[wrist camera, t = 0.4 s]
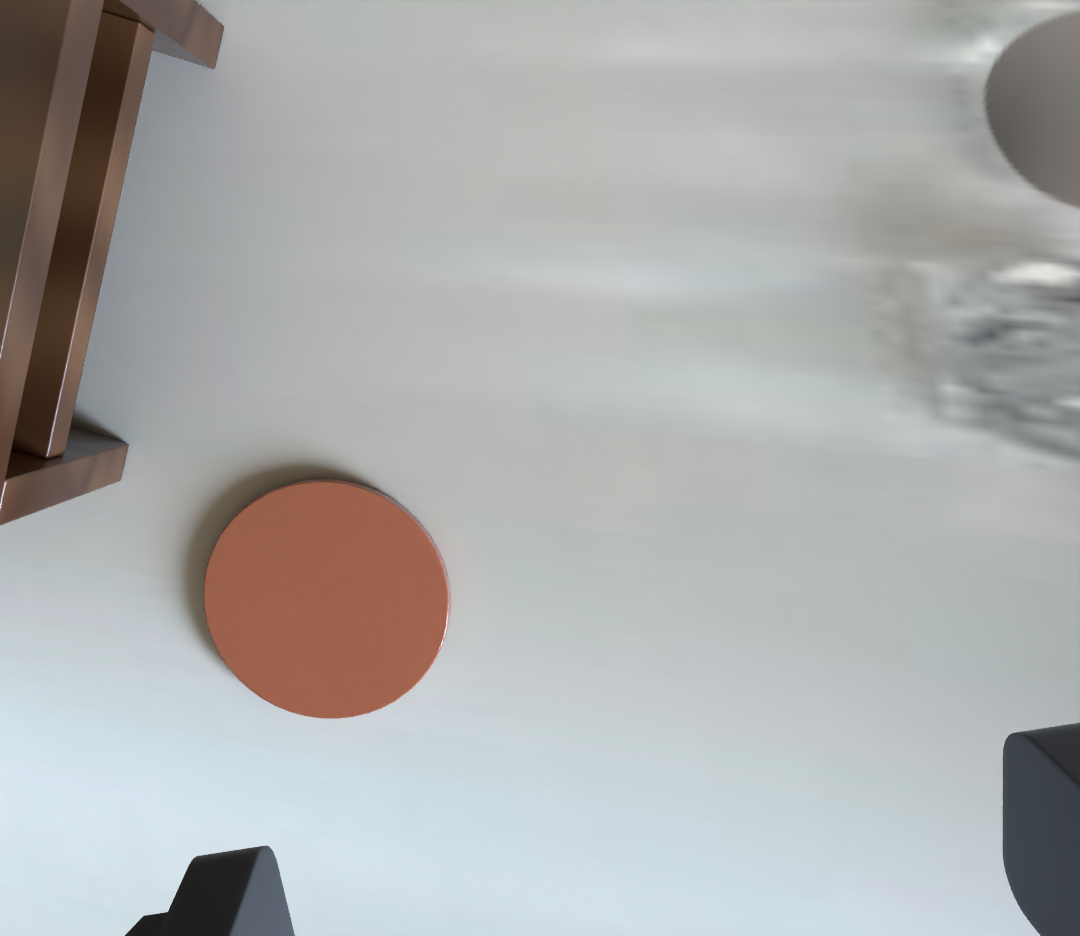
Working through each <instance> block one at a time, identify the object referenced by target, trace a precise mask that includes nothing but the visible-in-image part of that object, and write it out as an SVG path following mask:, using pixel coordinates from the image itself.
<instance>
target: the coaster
mask: <svg viewBox="0 0 1080 936" xmlns="http://www.w3.org/2000/svg"><path fill="white" fill-rule="evenodd" d="M203 593H204V610H205V615H206V620H207V625H208V628H209V631H210V634H211V637H212V640H213V642H214V644H215V646H216V648H217V650H218V652H219V654H220V655H221V657H222V659H223V660H224V662H225V663H226V665H227V666H228V667H229V669H230V670H231V671H232V672H233V673H234V675H235V676H236V677H237V678H238V679H239V680H240V681H241V682H242V683H243V684H244V685H245V686H246V687H247V688H249V689H250V690H251V691H253V692H254V693H255V694H257V695H258V696H259V697H261V698H262V699H264V700H266V701H268V702H270V703H271V704H273V705H275V706H277V707H280V708H282V709H285V710H287V711H289V712H293V713H296V714H300V715H304V716H309V717H316V718H346V717H354V716H358V715H363V714H367V713H370V712H373V711H375V710H378V709H381V708H383V707H385V706H387V705H389V704H390V703H392V702H394V701H396V700H397V699H399V698H400V697H402V696H403V695H404V694H406V693H407V692H409V691H410V690H411V689H412V688H413V687H414V686H415V685H416V684H417V683H418V682H419V681H420V680H421V679H422V678H423V676H424V675H425V674H426V673H427V671H428V670H429V669H430V667H431V665H432V664H433V662H434V660H435V659H436V657H437V655H438V653H439V650H440V648H441V646H442V643H443V641H444V638H445V634H446V631H447V627H448V623H449V616H450V587H449V580H448V575H447V572H446V568H445V565H444V562H443V559H442V557H441V555H440V552H439V550H438V548H437V546H436V544H435V543H434V541H433V539H432V538H431V536H430V534H429V533H428V532H427V530H426V529H425V528H424V527H423V525H422V524H421V523H420V522H419V521H418V520H417V519H416V518H415V517H414V516H413V515H412V514H411V513H410V512H409V511H408V510H407V509H406V508H404V507H403V506H402V505H400V504H399V503H398V502H396V501H395V500H394V499H392V498H390V497H388V496H387V495H385V494H383V493H381V492H379V491H377V490H374V489H372V488H370V487H367V486H365V485H361V484H357V483H354V482H350V481H343V480H336V479H313V480H304V481H299V482H295V483H291V484H287V485H284V486H282V487H279V488H277V489H274V490H272V491H270V492H268V493H266V494H265V495H263V496H261V497H259V498H258V499H256V500H254V501H253V502H252V503H250V504H249V505H248V506H246V507H245V508H244V509H242V510H241V511H240V512H239V513H238V514H237V515H236V516H235V517H234V518H233V519H232V520H231V521H230V523H229V524H228V525H227V527H226V528H225V529H224V531H223V532H222V533H221V535H220V537H219V539H218V540H217V542H216V544H215V546H214V548H213V551H212V553H211V556H210V559H209V561H208V565H207V570H206V574H205V580H204V592H203Z"/></svg>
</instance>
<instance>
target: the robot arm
mask: <svg viewBox="0 0 1080 936" xmlns="http://www.w3.org/2000/svg"><path fill="white" fill-rule="evenodd" d="M1003 860H1004V866H1005V871H1006V875H1007V878H1008V882H1009V884H1010V887H1011V890H1012V892H1013V894H1014V897H1015V899H1016V901H1017V903H1018V905H1019V907H1020V908H1021V910H1022V912H1023V913H1024V915H1025V916H1026V917H1027V919H1028V920H1029V921H1030V923H1031V924H1032V925H1033V927H1034V928H1035V929H1036V930H1037V932H1038V933H1039V934H1040V935H1041V936H1080V723H1075V724H1069V725H1062V726H1056V727H1049V728H1043V729H1036V730H1030V731H1023V732H1017V733H1012V734H1010V735H1009V736H1008V737H1007V739H1006V741H1005V744H1004V749H1003ZM125 936H295V935H294V931H293V927H292V923H291V918H290V914H289V910H288V906H287V902H286V898H285V893H284V889H283V885H282V881H281V877H280V873H279V868H278V864H277V861H276V858H275V855H274V853H273V851H272V849H271V848H270V847H269V846H260V847H254V848H247V849H241V850H234V851H228V852H221V853H215V854H208V855H202V856H197V857H195V858H194V859H193V860H192V861H191V863H190V865H189V867H188V869H187V871H186V873H185V875H184V878H183V880H182V882H181V884H180V886H179V889H178V891H177V893H176V895H175V897H174V900H173V902H172V904H171V906H170V909H169V911H168V912H166V913H160V914H153V915H147V916H143V917H142V918H141V919H140V920H139V921H138V922H137V923H136V925H135V926H134V927H133V928H132V929H131V930H130V931H129V932H128V933H127V934H126V935H125Z"/></svg>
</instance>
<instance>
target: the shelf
mask: <svg viewBox="0 0 1080 936" xmlns="http://www.w3.org/2000/svg"><path fill="white" fill-rule="evenodd" d="M223 31H224V26H223V25H222V24H221V23H220V22H219V21H217V20H216V19H215V18H214V17H213V16H212V15H211V14H209V13H208V12H207V11H206V10H205V9H204V8H203V7H201V6H200V5H199V4H198V3H197V2H196V1H195V0H0V525H3V524H5V523H8V522H11V521H13V520H16V519H19V518H22V517H24V516H27V515H30V514H32V513H35V512H38V511H40V510H43V509H46V508H48V507H51V506H54V505H56V504H59V503H62V502H64V501H67V500H70V499H73V498H75V497H78V496H81V495H83V494H86V493H89V492H91V491H94V490H97V489H99V488H102V487H105V486H107V485H110V484H113V483H115V482H118V481H120V480H121V477H122V472H123V468H124V464H125V459H126V455H127V451H128V446H129V445H128V444H127V443H124V442H121V441H117V440H114V439H110V438H107V437H104V436H100V435H97V434H94V433H90V432H87V431H84V430H80V429H77V428H73V427H70V425H71V421H72V416H73V411H74V407H75V402H76V398H77V393H78V388H79V384H80V379H81V375H82V370H83V365H84V361H85V356H86V351H87V347H88V342H89V338H90V333H91V328H92V324H93V319H94V315H95V310H96V305H97V301H98V296H99V291H100V287H101V282H102V278H103V273H104V268H105V264H106V259H107V255H108V250H109V245H110V241H111V236H112V231H113V227H114V222H115V218H116V213H117V208H118V204H119V199H120V195H121V190H122V185H123V181H124V176H125V172H126V167H127V162H128V158H129V153H130V148H131V144H132V139H133V135H134V130H135V125H136V121H137V116H138V112H139V107H140V102H141V98H142V93H143V88H144V84H145V79H146V75H147V70H148V65H149V61H150V56H151V52H152V50H154V51H157V52H160V53H164V54H167V55H170V56H173V57H177V58H180V59H183V60H186V61H189V62H193V63H196V64H199V65H202V66H206V67H209V68H212V69H214V68H215V66H216V61H217V57H218V52H219V48H220V44H221V39H222V35H223Z"/></svg>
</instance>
